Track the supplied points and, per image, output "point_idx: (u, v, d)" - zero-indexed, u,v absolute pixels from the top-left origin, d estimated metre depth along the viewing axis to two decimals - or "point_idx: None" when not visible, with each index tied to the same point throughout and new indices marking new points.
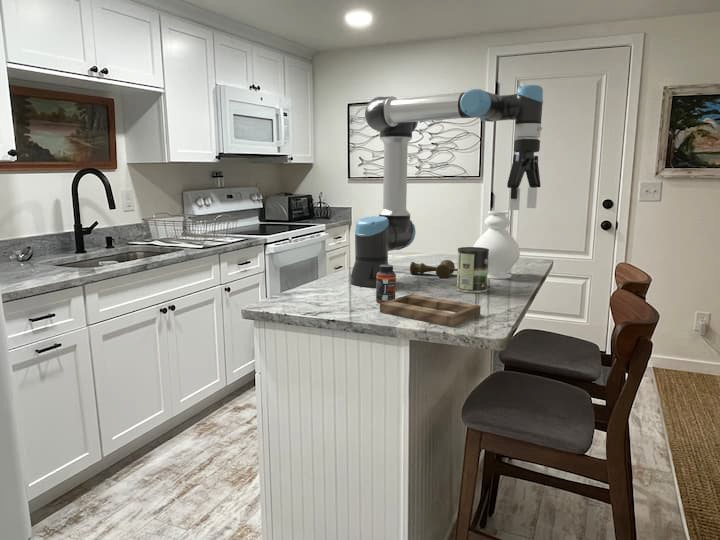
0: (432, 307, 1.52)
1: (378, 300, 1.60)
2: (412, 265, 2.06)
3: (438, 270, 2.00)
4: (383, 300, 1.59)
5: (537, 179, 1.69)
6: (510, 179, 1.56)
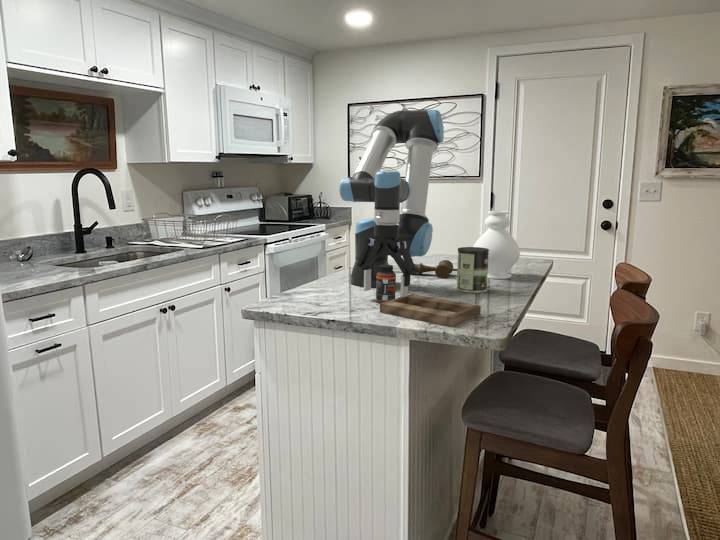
0: (432, 307, 1.52)
1: (378, 300, 1.60)
2: None
3: (437, 270, 1.99)
4: (383, 300, 1.59)
5: (407, 267, 1.54)
6: None
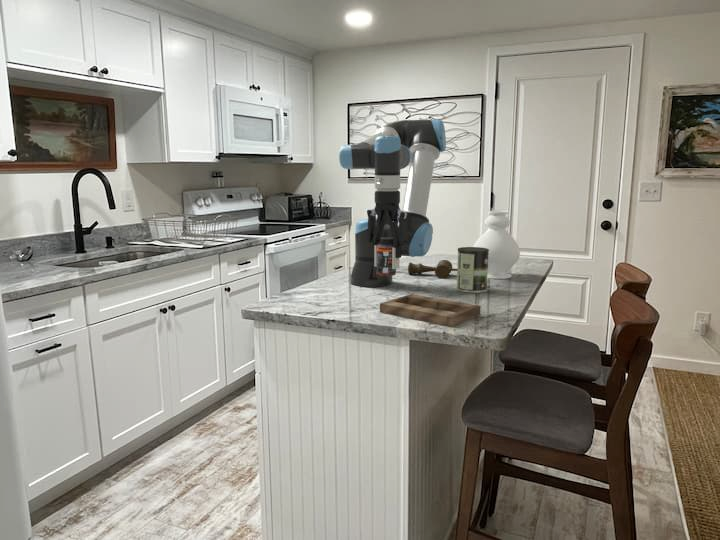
0: (432, 307, 1.52)
1: (378, 273, 1.59)
2: (410, 265, 2.05)
3: (437, 270, 1.99)
4: (383, 273, 1.58)
5: None
6: None
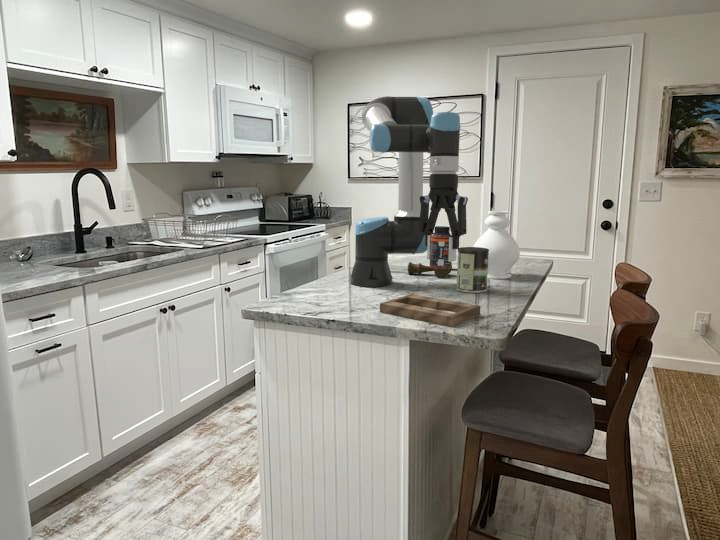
0: (432, 307, 1.52)
1: (432, 265, 1.42)
2: (410, 265, 2.05)
3: (436, 270, 1.99)
4: (438, 265, 1.41)
5: (458, 226, 1.38)
6: None
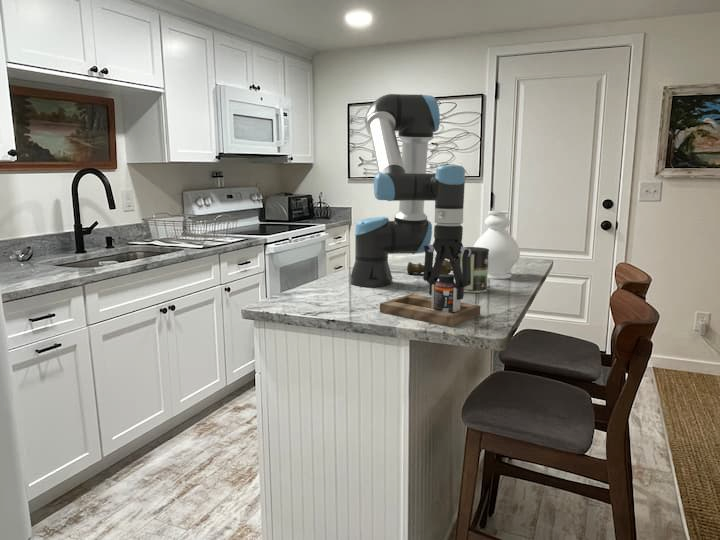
0: None
1: None
2: (409, 265, 2.05)
3: None
4: None
5: None
6: None
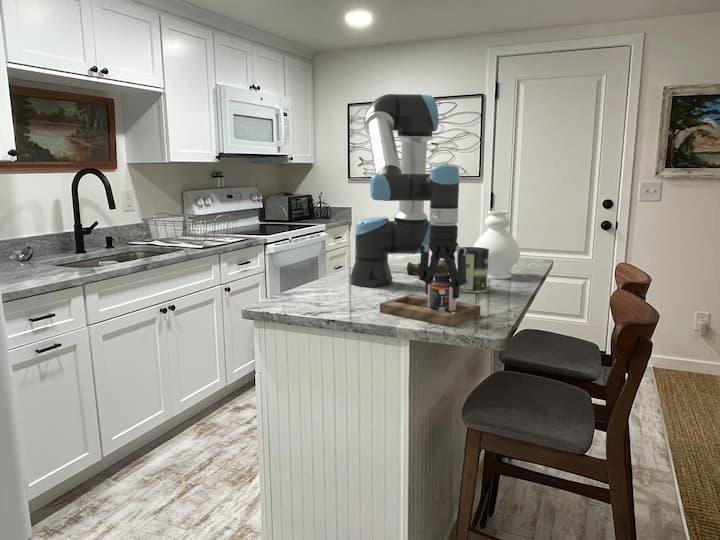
0: None
1: None
2: (409, 265, 2.05)
3: None
4: None
5: (458, 276, 1.40)
6: None
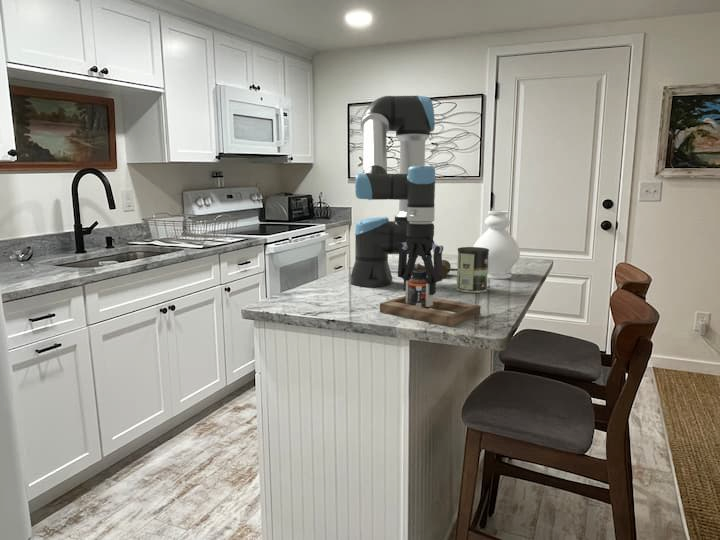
0: (432, 307, 1.52)
1: None
2: None
3: None
4: None
5: None
6: None
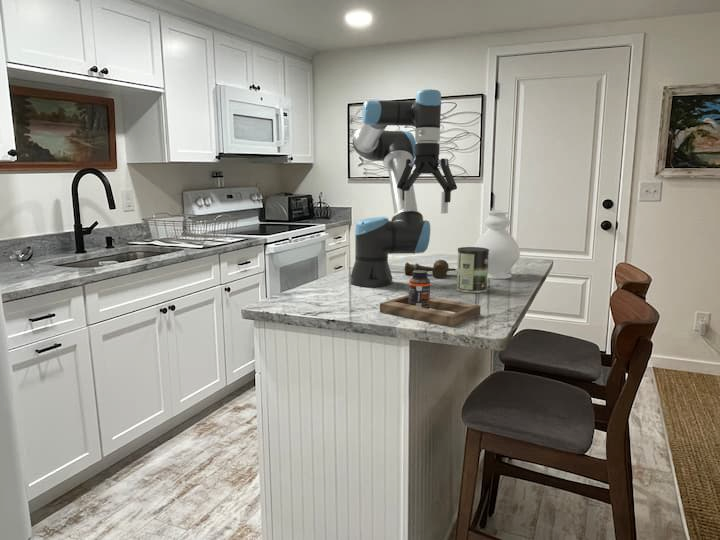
0: (432, 307, 1.52)
1: None
2: (407, 266, 2.04)
3: (434, 270, 1.99)
4: None
5: (448, 183, 1.59)
6: None
